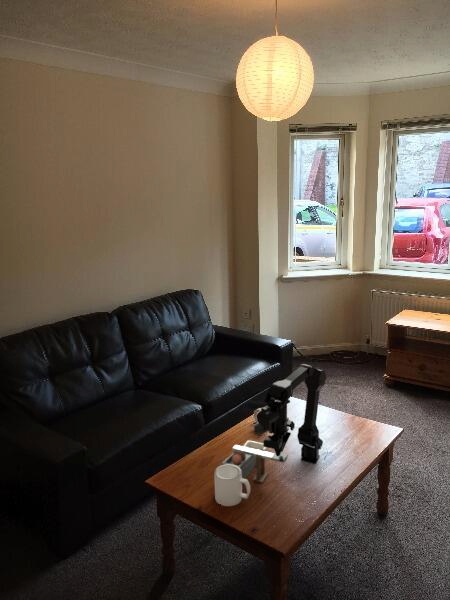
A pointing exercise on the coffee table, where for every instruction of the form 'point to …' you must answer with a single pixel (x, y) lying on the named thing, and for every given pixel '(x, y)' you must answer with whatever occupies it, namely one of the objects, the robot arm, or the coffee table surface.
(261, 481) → the lever stand
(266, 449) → the cream square tray
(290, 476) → the coffee table surface
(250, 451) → the lever
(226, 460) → the chute
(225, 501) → the mug
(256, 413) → the watch
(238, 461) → the ball
